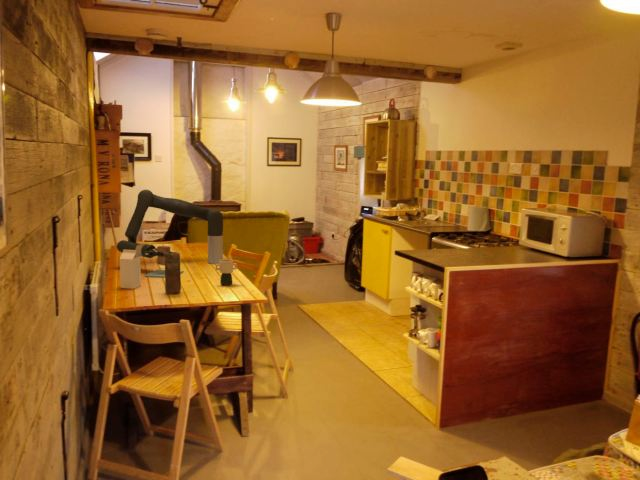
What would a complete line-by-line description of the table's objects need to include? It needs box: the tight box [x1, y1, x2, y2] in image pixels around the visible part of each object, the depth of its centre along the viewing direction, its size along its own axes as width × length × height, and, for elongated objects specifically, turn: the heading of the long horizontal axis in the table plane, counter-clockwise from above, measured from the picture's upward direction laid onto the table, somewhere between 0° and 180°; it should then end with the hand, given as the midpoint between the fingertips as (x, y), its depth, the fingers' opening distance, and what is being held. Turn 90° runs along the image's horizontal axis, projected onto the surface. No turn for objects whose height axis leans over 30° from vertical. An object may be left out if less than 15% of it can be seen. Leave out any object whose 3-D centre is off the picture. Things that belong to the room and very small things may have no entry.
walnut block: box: [156, 245, 171, 266], centre depth 300 cm, size 5×5×10 cm
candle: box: [164, 251, 182, 295], centre depth 261 cm, size 8×7×20 cm
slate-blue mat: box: [144, 269, 185, 279], centre depth 301 cm, size 16×16×1 cm
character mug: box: [215, 258, 238, 286], centre depth 279 cm, size 11×7×13 cm, turn 106°
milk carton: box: [119, 249, 142, 290], centre depth 270 cm, size 7×7×19 cm
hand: (167, 254), depth 298 cm, fingers closed on walnut block, 5 cm apart
